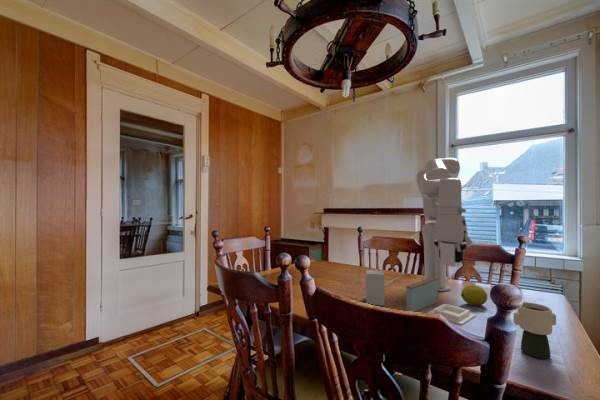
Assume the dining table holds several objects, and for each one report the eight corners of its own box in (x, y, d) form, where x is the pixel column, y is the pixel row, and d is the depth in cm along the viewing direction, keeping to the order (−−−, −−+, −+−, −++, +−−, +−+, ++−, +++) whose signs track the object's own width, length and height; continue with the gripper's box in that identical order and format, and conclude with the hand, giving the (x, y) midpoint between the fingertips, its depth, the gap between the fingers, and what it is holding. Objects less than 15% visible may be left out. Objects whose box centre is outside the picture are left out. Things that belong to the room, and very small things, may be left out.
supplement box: (385, 305, 111) (384, 274, 111) (366, 304, 112) (365, 273, 113) (383, 299, 118) (382, 270, 118) (365, 298, 120) (365, 269, 120)
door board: (432, 300, 117) (432, 277, 117) (438, 301, 115) (437, 278, 115) (406, 311, 105) (406, 286, 105) (411, 313, 103) (411, 287, 103)
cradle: (442, 306, 110) (442, 301, 110) (476, 316, 100) (476, 310, 100) (427, 314, 102) (427, 308, 102) (461, 325, 93) (461, 319, 93)
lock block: (446, 262, 105) (446, 241, 105) (460, 264, 101) (460, 242, 101) (440, 264, 102) (440, 242, 102) (454, 266, 98) (454, 244, 98)
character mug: (545, 347, 78) (544, 302, 78) (568, 362, 71) (567, 311, 71) (505, 346, 79) (504, 301, 79) (524, 361, 72) (523, 311, 72)
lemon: (479, 301, 115) (479, 282, 115) (493, 308, 107) (493, 288, 107) (454, 302, 114) (454, 283, 114) (467, 309, 106) (466, 288, 107)
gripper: (479, 211, 97) (480, 263, 97) (432, 211, 111) (433, 256, 110) (470, 212, 93) (471, 266, 92) (422, 211, 106) (423, 258, 106)
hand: (450, 260), depth 101 cm, fingers closed on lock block, 5 cm apart
